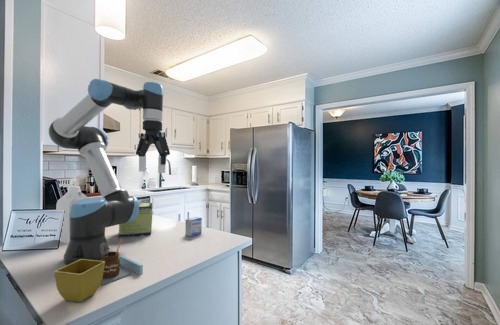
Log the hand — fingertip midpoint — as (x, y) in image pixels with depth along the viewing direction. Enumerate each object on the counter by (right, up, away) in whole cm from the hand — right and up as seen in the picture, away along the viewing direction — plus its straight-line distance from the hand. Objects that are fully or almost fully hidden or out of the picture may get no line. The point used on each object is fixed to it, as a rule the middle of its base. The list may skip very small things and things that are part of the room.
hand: (151, 172), depth 98 cm
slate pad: (-7, -35, -18) cm, 39 cm away
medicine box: (+10, -35, +30) cm, 47 cm away
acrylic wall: (-3, -35, -12) cm, 37 cm away
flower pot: (-8, -35, -30) cm, 47 cm away
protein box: (-21, -35, +29) cm, 50 cm away
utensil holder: (-7, -34, -18) cm, 39 cm away
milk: (-47, -34, +19) cm, 61 cm away
